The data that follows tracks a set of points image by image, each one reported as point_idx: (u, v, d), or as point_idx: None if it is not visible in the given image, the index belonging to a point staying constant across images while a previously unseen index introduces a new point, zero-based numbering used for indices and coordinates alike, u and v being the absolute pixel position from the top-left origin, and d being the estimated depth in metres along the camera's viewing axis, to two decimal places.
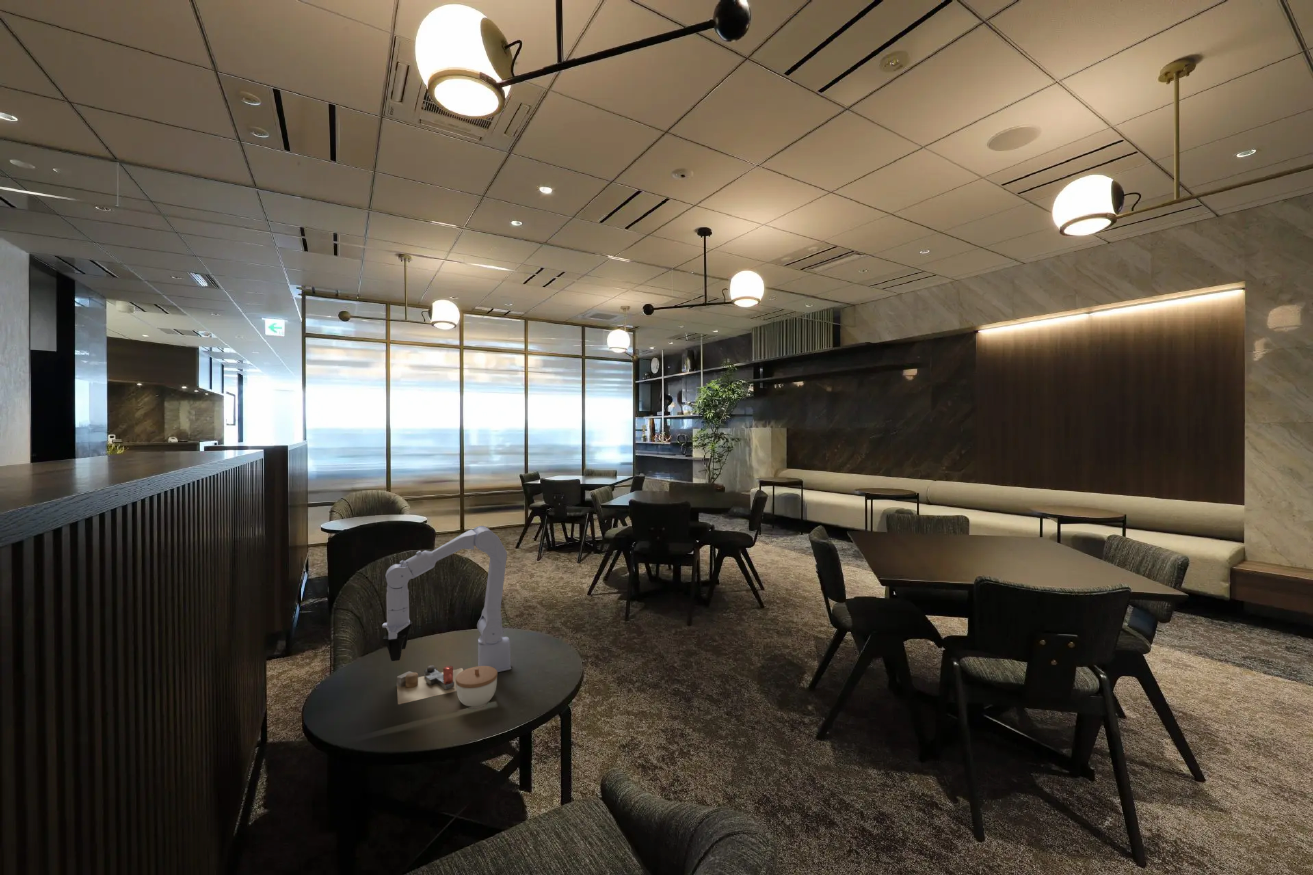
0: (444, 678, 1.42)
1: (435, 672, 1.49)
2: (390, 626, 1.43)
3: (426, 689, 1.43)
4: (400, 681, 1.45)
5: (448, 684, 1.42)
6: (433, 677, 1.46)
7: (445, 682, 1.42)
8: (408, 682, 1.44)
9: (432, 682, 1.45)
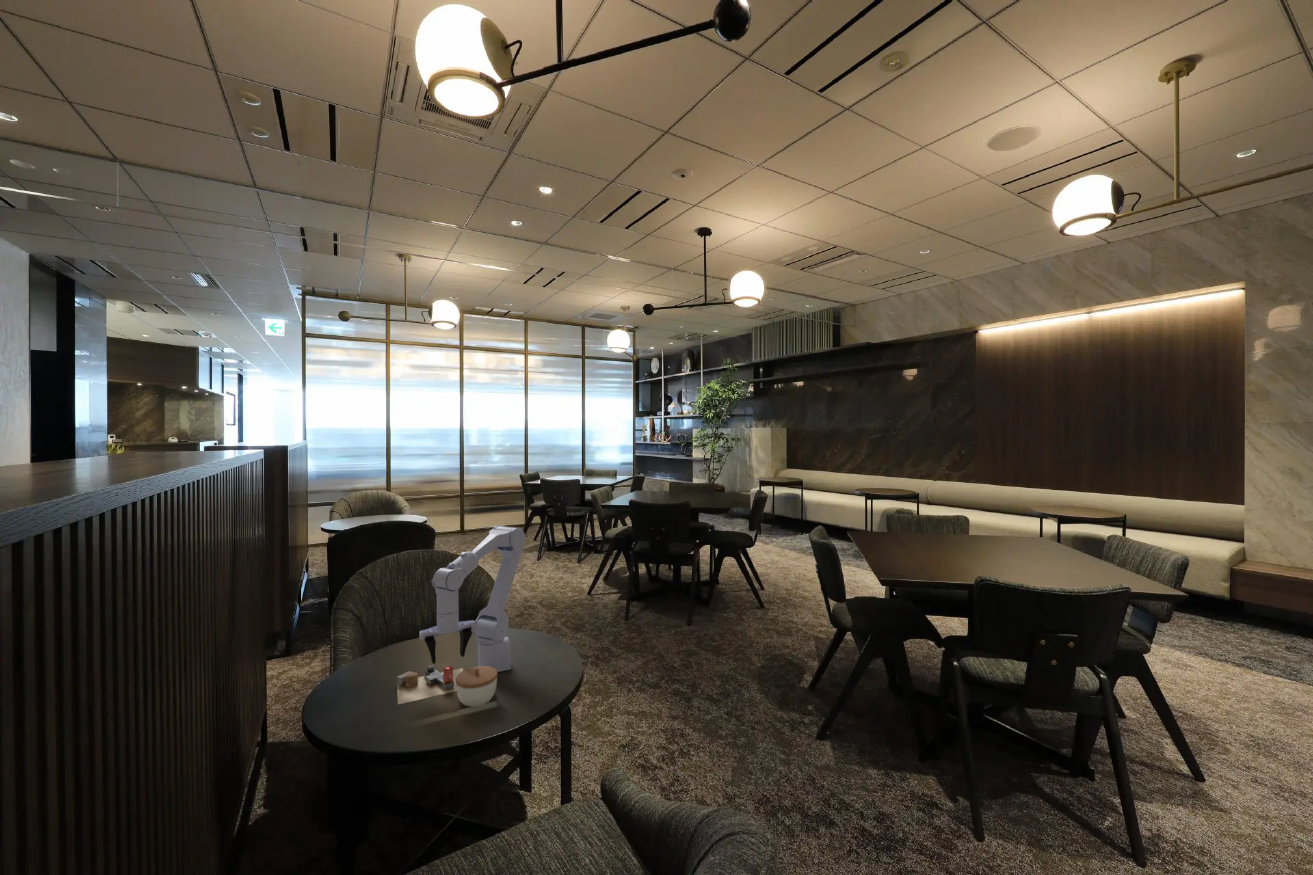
0: (444, 678, 1.42)
1: (435, 672, 1.49)
2: (437, 626, 1.43)
3: (426, 689, 1.43)
4: (400, 681, 1.45)
5: (448, 684, 1.42)
6: (433, 677, 1.46)
7: (445, 682, 1.42)
8: (408, 682, 1.44)
9: (432, 682, 1.45)
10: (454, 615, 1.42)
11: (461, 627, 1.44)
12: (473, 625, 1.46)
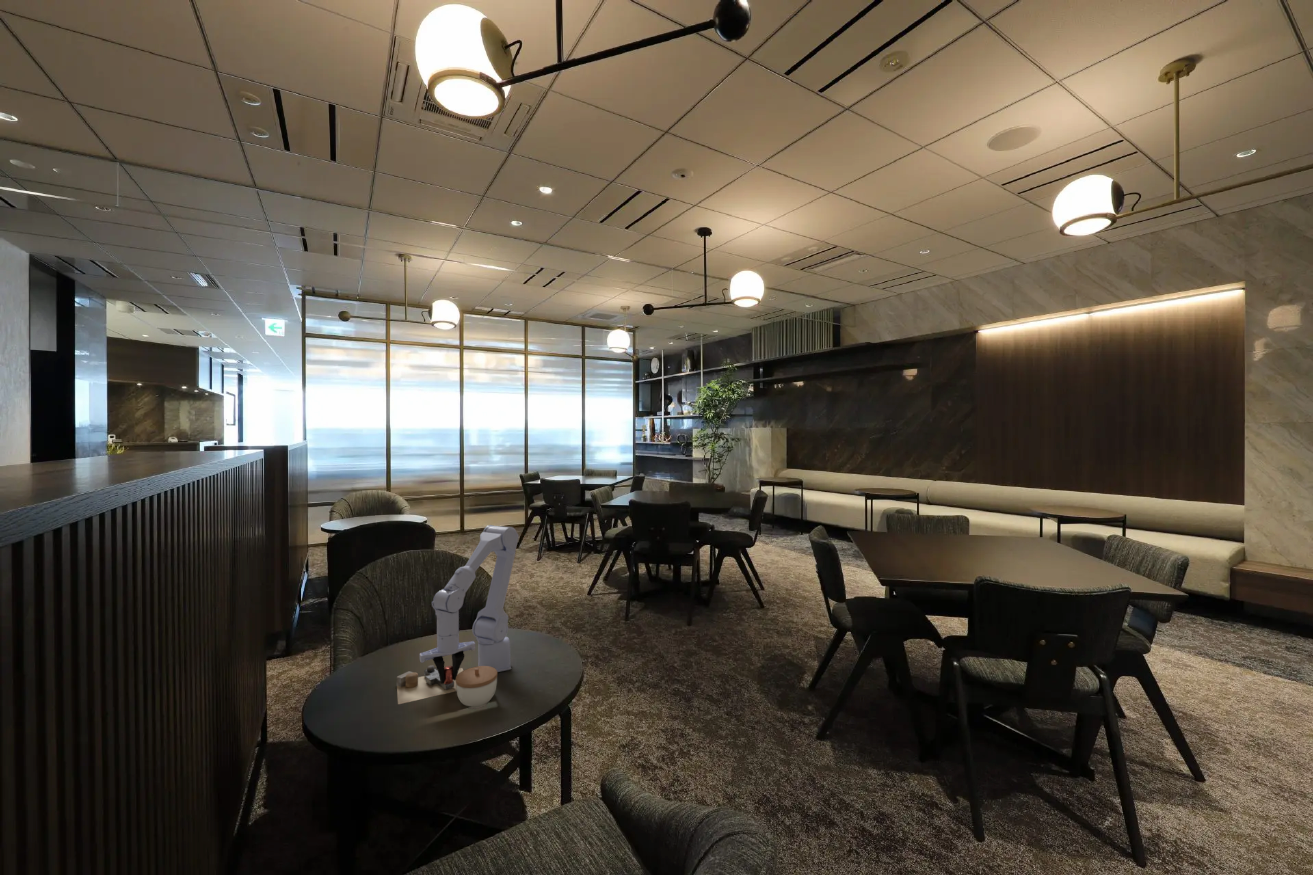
0: (444, 678, 1.42)
1: (435, 672, 1.49)
2: (437, 648, 1.43)
3: (426, 689, 1.43)
4: (400, 681, 1.45)
5: (448, 684, 1.42)
6: (433, 677, 1.46)
7: (445, 682, 1.42)
8: (408, 682, 1.44)
9: (432, 682, 1.45)
10: (454, 637, 1.42)
11: (461, 649, 1.44)
12: (473, 646, 1.46)
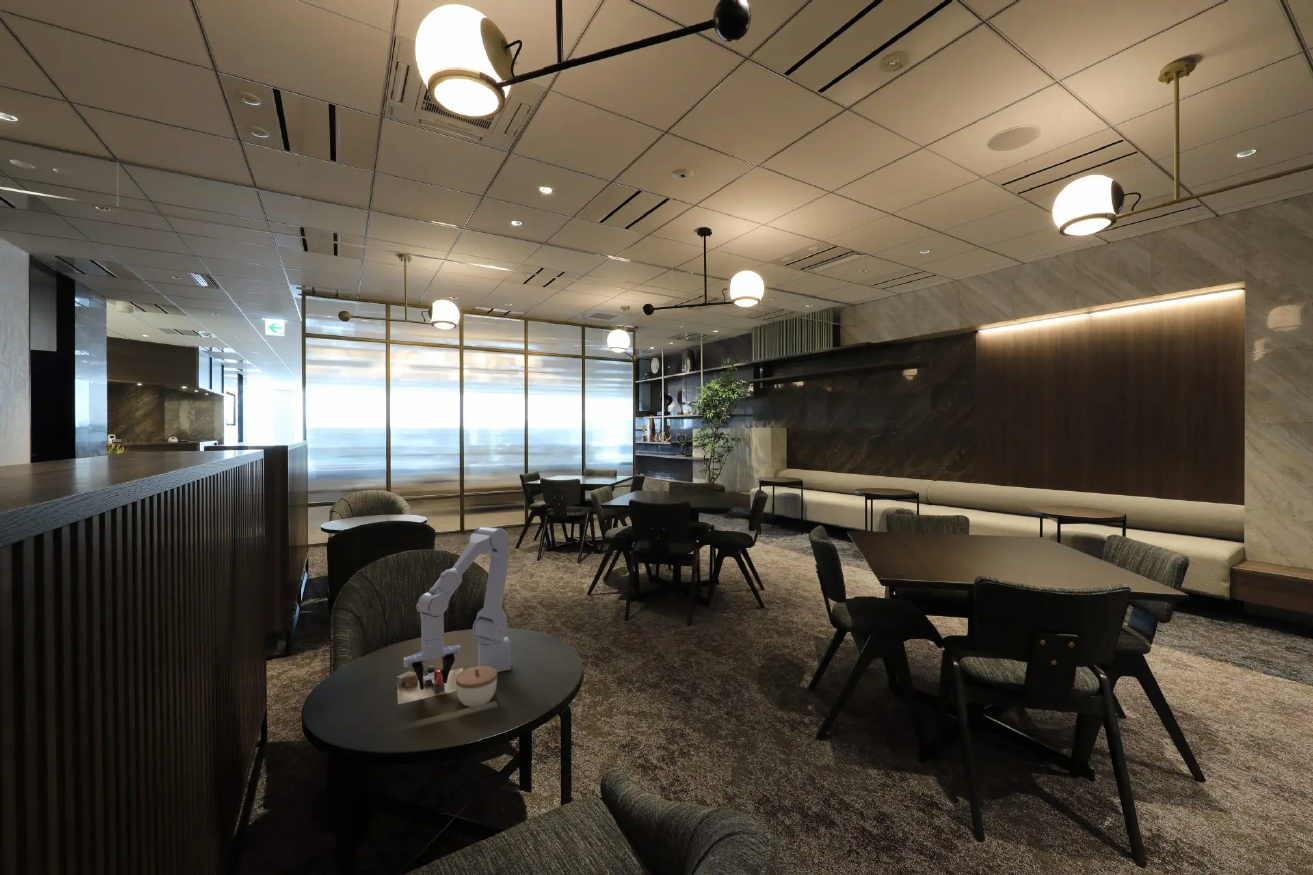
0: (434, 681, 1.41)
1: (433, 673, 1.49)
2: (422, 652, 1.41)
3: (426, 689, 1.43)
4: (400, 681, 1.45)
5: (438, 687, 1.41)
6: (428, 678, 1.45)
7: (435, 685, 1.41)
8: (408, 682, 1.44)
9: (427, 683, 1.45)
10: (439, 641, 1.40)
11: (446, 653, 1.41)
12: (459, 650, 1.44)
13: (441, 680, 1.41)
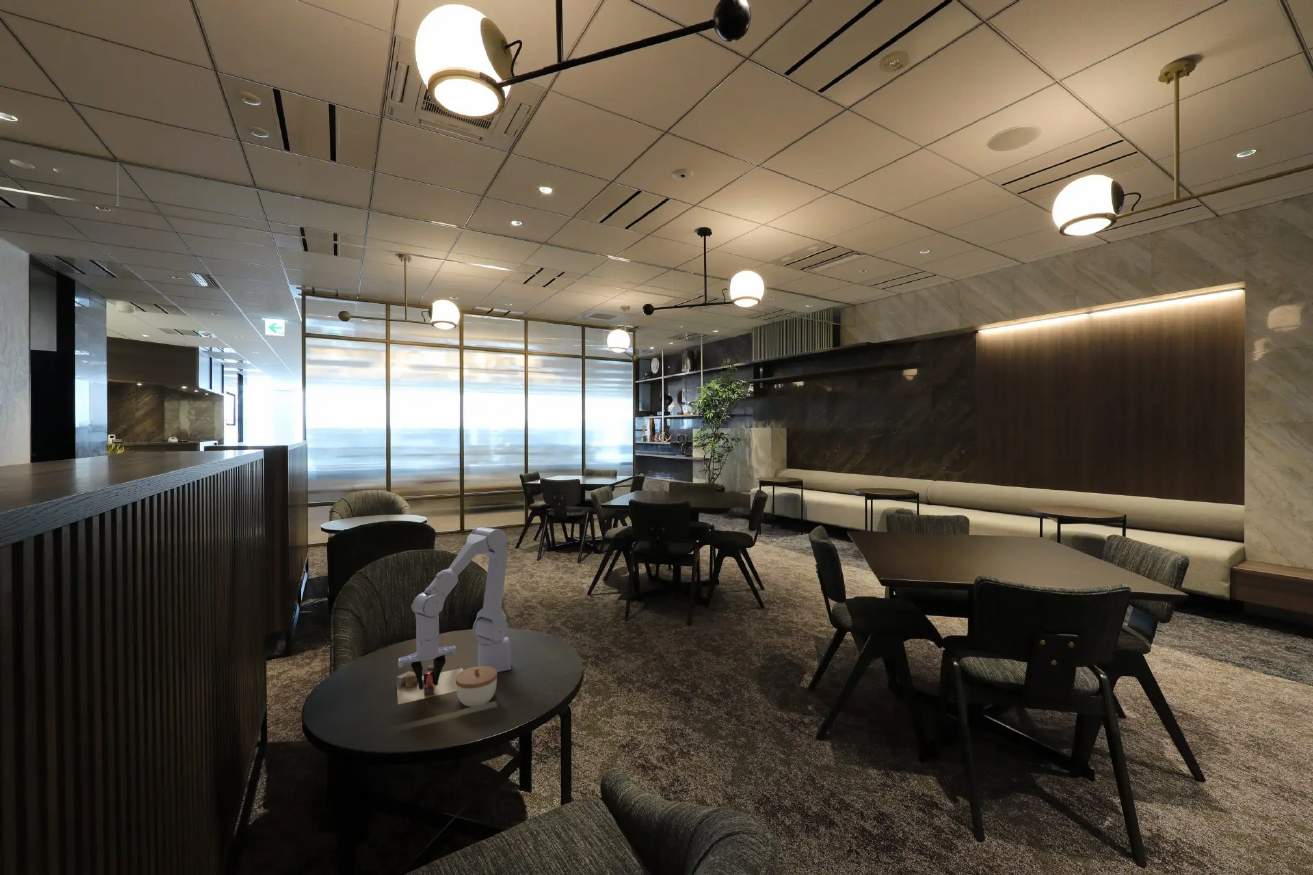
0: (423, 683, 1.40)
1: None
2: (416, 653, 1.40)
3: None
4: (400, 681, 1.45)
5: (426, 690, 1.39)
6: (423, 679, 1.45)
7: (424, 687, 1.40)
8: (408, 682, 1.44)
9: None
10: (434, 641, 1.39)
11: (441, 653, 1.41)
12: (454, 651, 1.43)
13: (430, 683, 1.40)
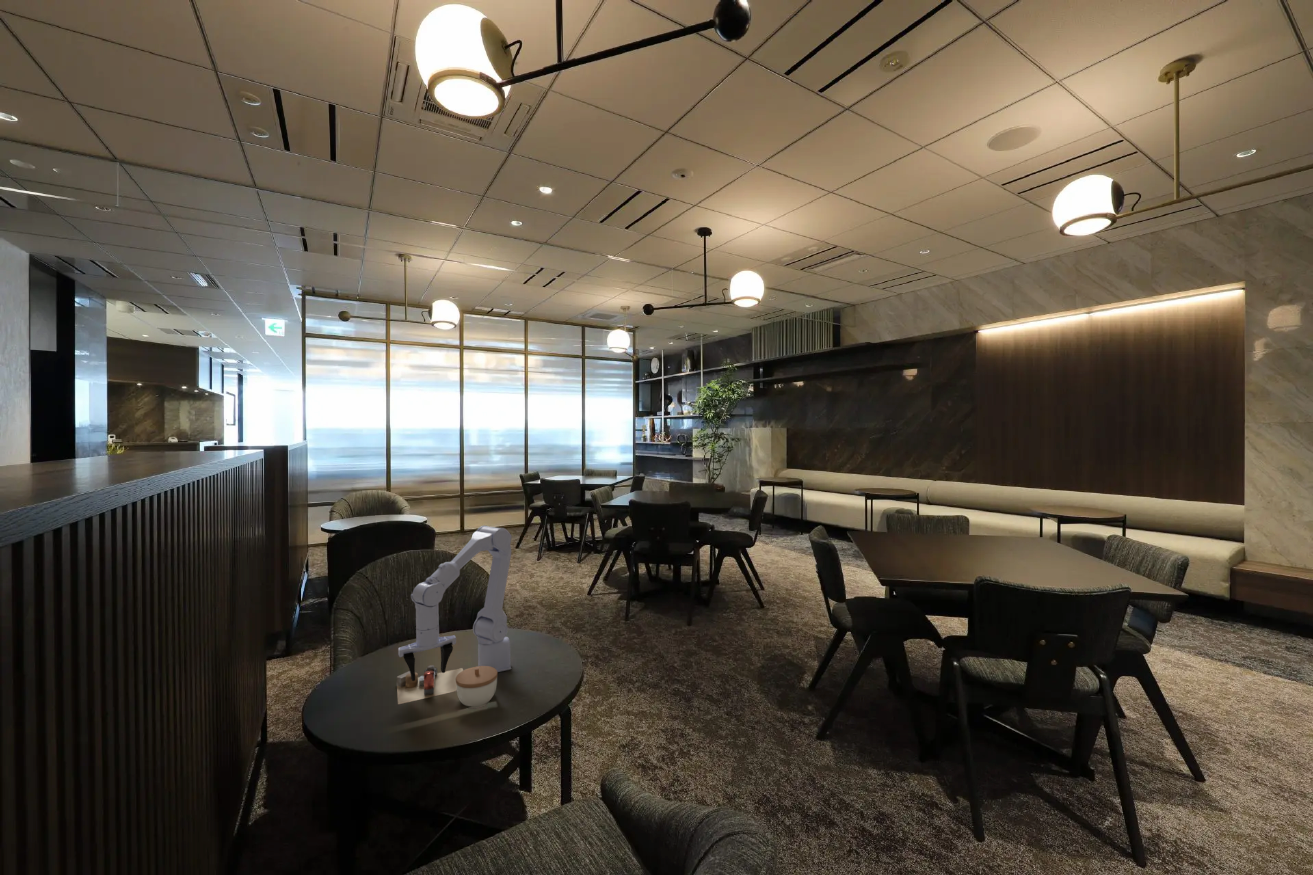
0: (423, 683, 1.40)
1: None
2: None
3: None
4: (400, 681, 1.45)
5: (426, 690, 1.39)
6: (423, 679, 1.45)
7: (424, 687, 1.40)
8: (408, 682, 1.44)
9: (421, 683, 1.44)
10: (434, 631, 1.39)
11: (441, 643, 1.41)
12: (454, 640, 1.43)
13: (430, 683, 1.40)
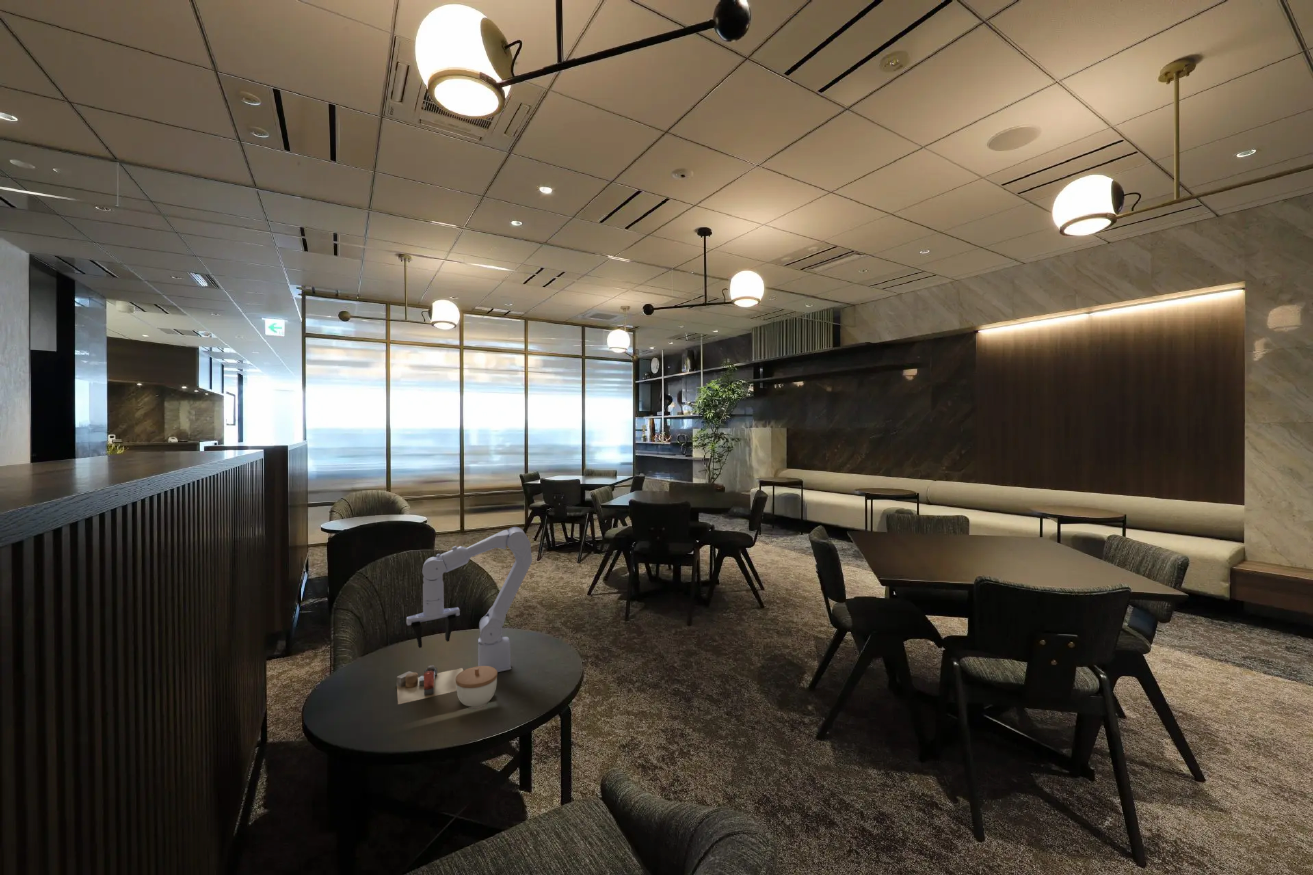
0: (423, 683, 1.40)
1: None
2: (423, 613, 1.52)
3: None
4: (400, 681, 1.45)
5: (426, 690, 1.39)
6: (423, 679, 1.45)
7: (424, 687, 1.40)
8: (408, 682, 1.44)
9: (421, 683, 1.44)
10: (439, 602, 1.51)
11: (446, 613, 1.52)
12: (458, 612, 1.55)
13: (430, 683, 1.40)
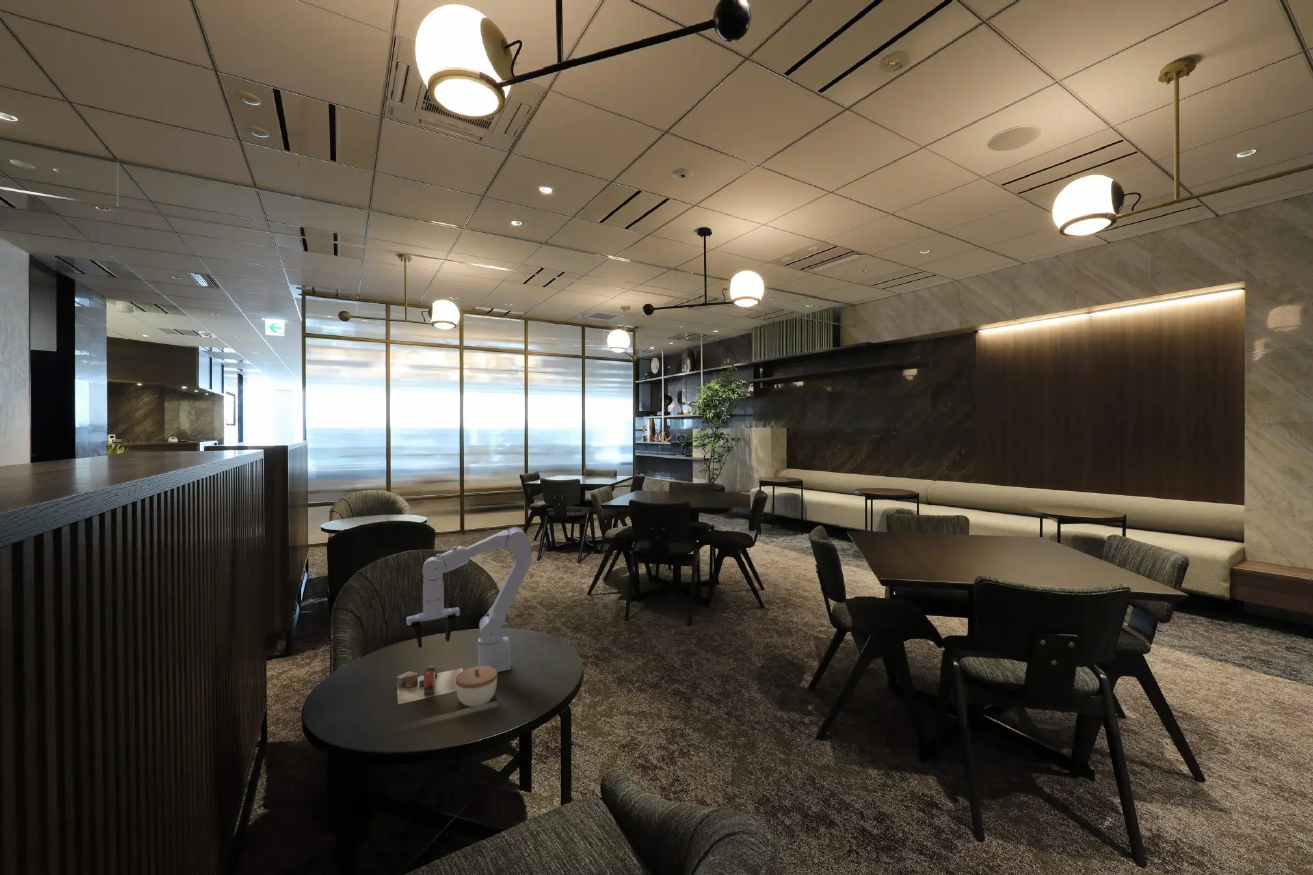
0: (423, 683, 1.40)
1: None
2: (423, 613, 1.52)
3: None
4: (400, 681, 1.45)
5: (426, 690, 1.39)
6: (423, 679, 1.45)
7: (424, 687, 1.40)
8: (408, 682, 1.44)
9: (421, 683, 1.44)
10: (439, 602, 1.51)
11: (446, 613, 1.52)
12: (458, 612, 1.55)
13: (430, 683, 1.40)
